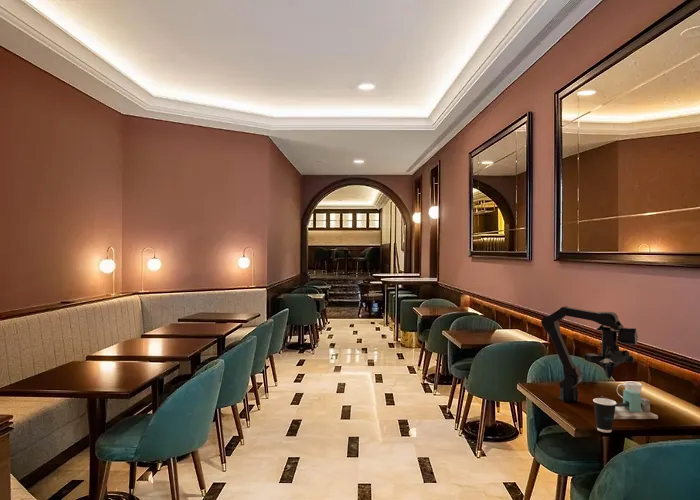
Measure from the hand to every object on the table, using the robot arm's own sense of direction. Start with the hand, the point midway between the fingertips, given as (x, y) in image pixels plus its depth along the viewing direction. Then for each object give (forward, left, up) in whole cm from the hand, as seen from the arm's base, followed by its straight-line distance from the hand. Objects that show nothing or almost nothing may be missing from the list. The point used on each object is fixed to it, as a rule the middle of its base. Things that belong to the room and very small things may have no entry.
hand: (608, 378), depth 214 cm
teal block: (+6, -6, -11) cm, 14 cm away
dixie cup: (-16, -25, -13) cm, 32 cm away
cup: (+16, +11, -13) cm, 23 cm away
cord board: (+4, -6, -13) cm, 15 cm away
